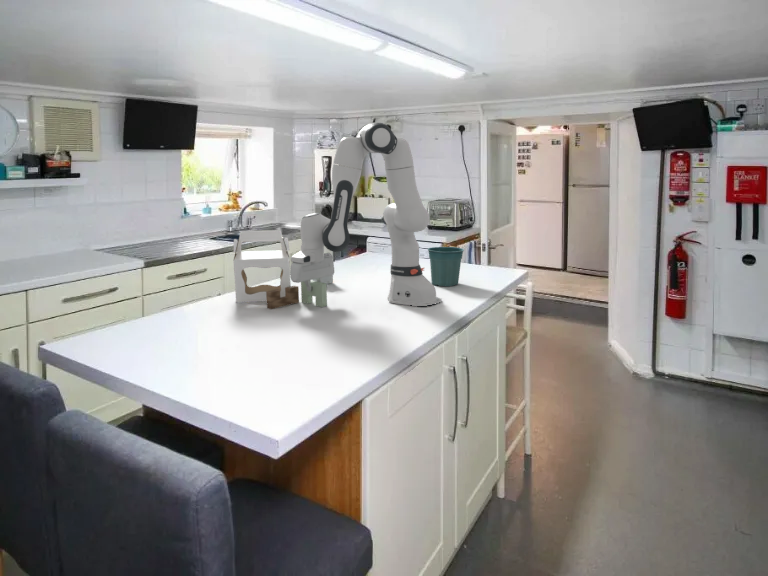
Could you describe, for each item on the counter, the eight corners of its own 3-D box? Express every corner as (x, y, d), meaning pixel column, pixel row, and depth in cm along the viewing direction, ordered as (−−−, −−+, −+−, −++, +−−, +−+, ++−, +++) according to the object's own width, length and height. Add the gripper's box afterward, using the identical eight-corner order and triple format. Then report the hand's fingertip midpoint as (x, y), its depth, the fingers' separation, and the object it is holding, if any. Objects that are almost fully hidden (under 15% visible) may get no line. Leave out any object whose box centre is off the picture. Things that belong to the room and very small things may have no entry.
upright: (294, 301, 234) (294, 285, 232) (299, 302, 232) (298, 286, 231) (267, 308, 223) (266, 291, 222) (271, 309, 222) (270, 292, 220)
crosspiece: (326, 306, 226) (326, 283, 224) (322, 307, 224) (321, 284, 222) (306, 301, 234) (305, 279, 232) (301, 302, 232) (300, 280, 230)
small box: (333, 283, 267) (332, 255, 265) (321, 284, 264) (320, 256, 261) (323, 280, 274) (322, 252, 271) (312, 282, 270) (311, 254, 267)
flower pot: (436, 278, 276) (437, 245, 272) (468, 282, 268) (469, 247, 264) (420, 285, 262) (421, 250, 259) (454, 289, 254) (455, 253, 250)
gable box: (290, 292, 248) (288, 227, 242) (291, 300, 236) (289, 231, 230) (237, 295, 244) (233, 229, 238) (235, 303, 232) (231, 233, 226)
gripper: (326, 251, 235) (327, 284, 238) (287, 257, 219) (288, 293, 223) (337, 252, 231) (338, 286, 234) (298, 259, 215) (299, 295, 219)
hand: (313, 290), depth 228 cm, fingers closed on crosspiece, 2 cm apart
